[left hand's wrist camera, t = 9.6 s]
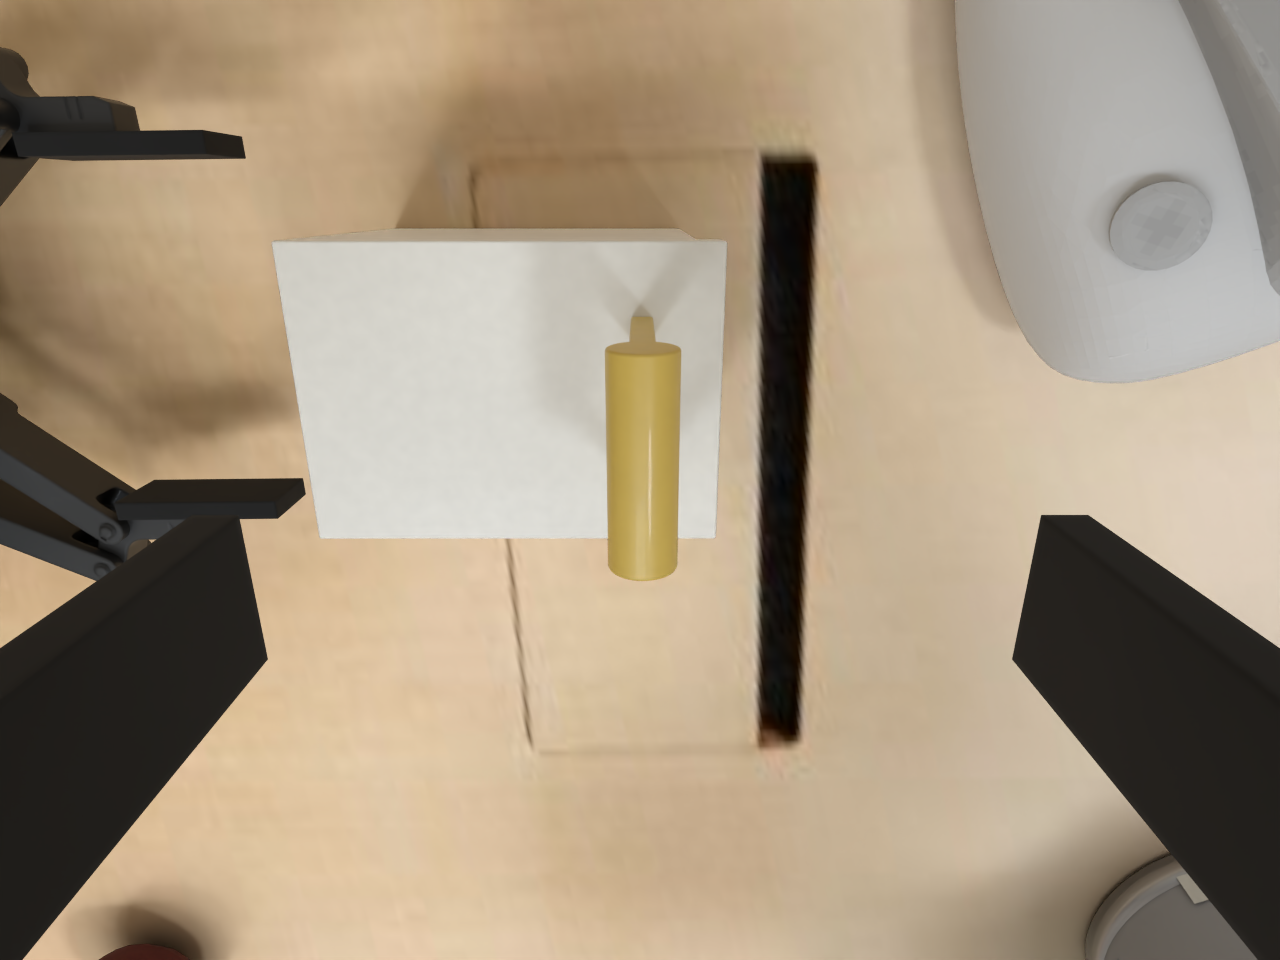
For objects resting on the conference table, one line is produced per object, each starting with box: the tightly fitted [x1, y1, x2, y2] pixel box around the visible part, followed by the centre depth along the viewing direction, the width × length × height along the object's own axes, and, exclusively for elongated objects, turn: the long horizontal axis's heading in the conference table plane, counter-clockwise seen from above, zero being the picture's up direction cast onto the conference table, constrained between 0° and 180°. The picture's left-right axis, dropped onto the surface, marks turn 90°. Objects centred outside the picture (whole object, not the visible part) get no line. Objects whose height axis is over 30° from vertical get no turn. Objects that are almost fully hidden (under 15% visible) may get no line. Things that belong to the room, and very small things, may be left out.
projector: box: [955, 0, 1280, 383], centre depth 25 cm, size 22×23×15 cm
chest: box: [296, 228, 695, 239], centre depth 31 cm, size 13×10×11 cm
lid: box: [272, 239, 727, 581], centre depth 22 cm, size 14×10×8 cm
